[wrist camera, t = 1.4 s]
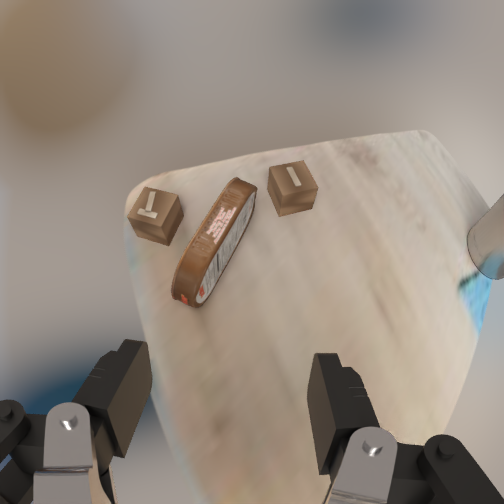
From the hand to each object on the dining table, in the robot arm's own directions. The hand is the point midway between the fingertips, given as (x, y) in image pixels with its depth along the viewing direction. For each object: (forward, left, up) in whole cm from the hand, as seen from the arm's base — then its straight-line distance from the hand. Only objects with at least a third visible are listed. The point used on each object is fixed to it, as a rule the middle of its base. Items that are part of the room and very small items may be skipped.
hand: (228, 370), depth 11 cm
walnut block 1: (-5, -24, -22) cm, 33 cm away
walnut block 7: (+11, -19, -22) cm, 32 cm away
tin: (+3, -15, -23) cm, 27 cm away
